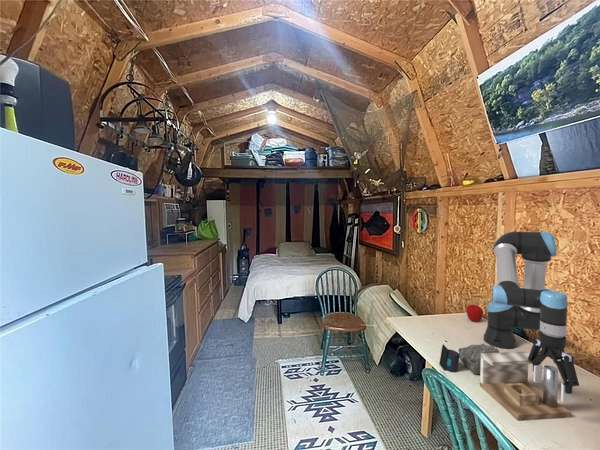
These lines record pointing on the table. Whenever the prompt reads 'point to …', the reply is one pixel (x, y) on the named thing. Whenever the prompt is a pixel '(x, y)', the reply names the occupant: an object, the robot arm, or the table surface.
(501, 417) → the table surface
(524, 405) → the socket board
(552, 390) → the peg
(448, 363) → the speaker
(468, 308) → the apple
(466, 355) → the rock
